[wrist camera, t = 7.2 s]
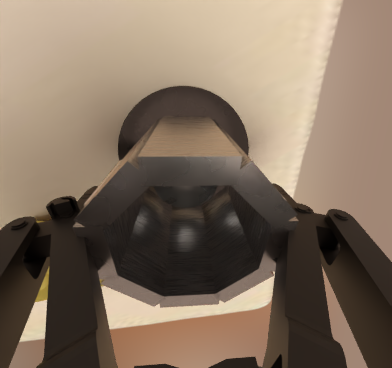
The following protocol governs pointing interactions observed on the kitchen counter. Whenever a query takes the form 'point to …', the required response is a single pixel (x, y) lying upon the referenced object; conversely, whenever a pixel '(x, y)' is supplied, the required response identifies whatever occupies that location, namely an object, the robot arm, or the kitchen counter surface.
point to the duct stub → (181, 106)
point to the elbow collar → (185, 219)
